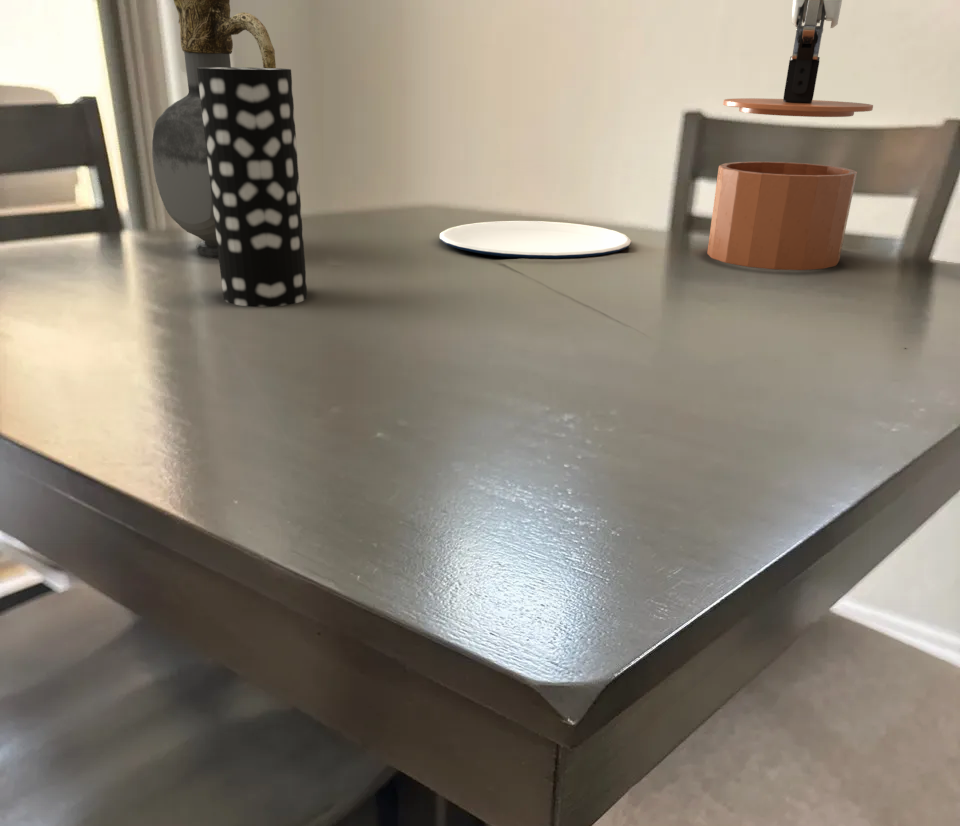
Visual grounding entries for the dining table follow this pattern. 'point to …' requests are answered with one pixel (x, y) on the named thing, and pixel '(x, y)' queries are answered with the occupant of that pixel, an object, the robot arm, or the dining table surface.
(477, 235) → the plate
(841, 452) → the dining table surface
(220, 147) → the white-spotted black cylinder
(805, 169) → the pot
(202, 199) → the pitcher
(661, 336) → the dining table surface
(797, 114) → the lid
